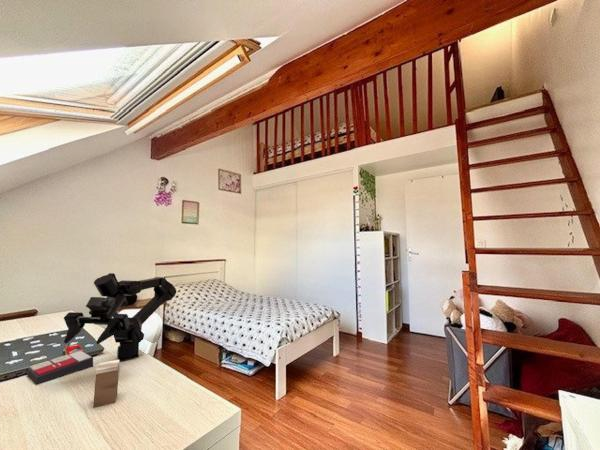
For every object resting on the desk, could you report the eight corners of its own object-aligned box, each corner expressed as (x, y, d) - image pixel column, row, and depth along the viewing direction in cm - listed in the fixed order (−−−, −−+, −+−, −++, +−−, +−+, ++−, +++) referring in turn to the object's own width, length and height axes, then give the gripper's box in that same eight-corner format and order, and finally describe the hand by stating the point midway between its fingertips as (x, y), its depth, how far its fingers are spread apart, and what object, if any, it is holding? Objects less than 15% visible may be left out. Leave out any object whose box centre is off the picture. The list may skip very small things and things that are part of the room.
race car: (85, 358, 100) (86, 348, 101) (67, 363, 96) (68, 352, 97) (78, 349, 109) (79, 340, 109) (61, 353, 105) (62, 343, 105)
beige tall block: (96, 398, 74) (99, 363, 75) (117, 393, 76) (119, 359, 77) (93, 408, 70) (95, 370, 70) (115, 402, 72) (117, 366, 73)
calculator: (27, 366, 87) (82, 348, 99) (26, 378, 86) (81, 359, 99) (36, 374, 81) (93, 355, 94) (36, 388, 81) (93, 367, 93)
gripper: (76, 287, 88) (39, 324, 74) (133, 290, 90) (107, 325, 76) (84, 310, 93) (51, 348, 79) (138, 312, 95) (115, 349, 81)
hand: (81, 342), depth 79 cm, fingers open, 9 cm apart
